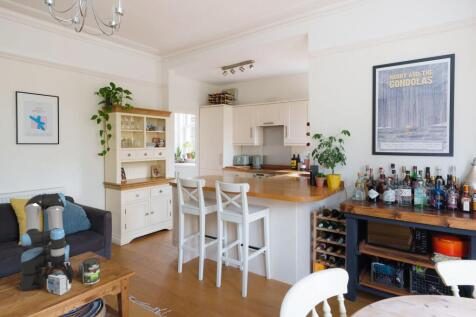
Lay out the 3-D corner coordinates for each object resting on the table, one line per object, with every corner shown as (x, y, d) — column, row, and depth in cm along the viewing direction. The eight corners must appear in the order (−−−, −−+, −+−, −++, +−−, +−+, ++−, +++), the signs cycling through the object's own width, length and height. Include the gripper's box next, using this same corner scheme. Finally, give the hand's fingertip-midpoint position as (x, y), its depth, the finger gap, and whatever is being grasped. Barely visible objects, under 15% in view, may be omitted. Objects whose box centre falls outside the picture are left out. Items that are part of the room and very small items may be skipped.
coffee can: (102, 280, 192) (102, 259, 191) (87, 286, 184) (86, 264, 183) (95, 275, 198) (94, 256, 198) (80, 281, 190) (79, 260, 189)
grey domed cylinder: (77, 276, 197) (76, 265, 197) (81, 273, 202) (80, 262, 202) (84, 276, 197) (83, 265, 197) (88, 273, 202) (87, 262, 202)
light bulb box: (47, 292, 176) (47, 275, 175) (58, 287, 182) (57, 270, 182) (60, 295, 172) (59, 278, 172) (70, 290, 178) (69, 273, 178)
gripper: (34, 256, 172) (35, 291, 173) (73, 256, 172) (74, 291, 173) (42, 252, 180) (43, 285, 181) (80, 252, 180) (81, 285, 181)
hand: (59, 288), depth 177 cm, fingers closed on light bulb box, 12 cm apart
